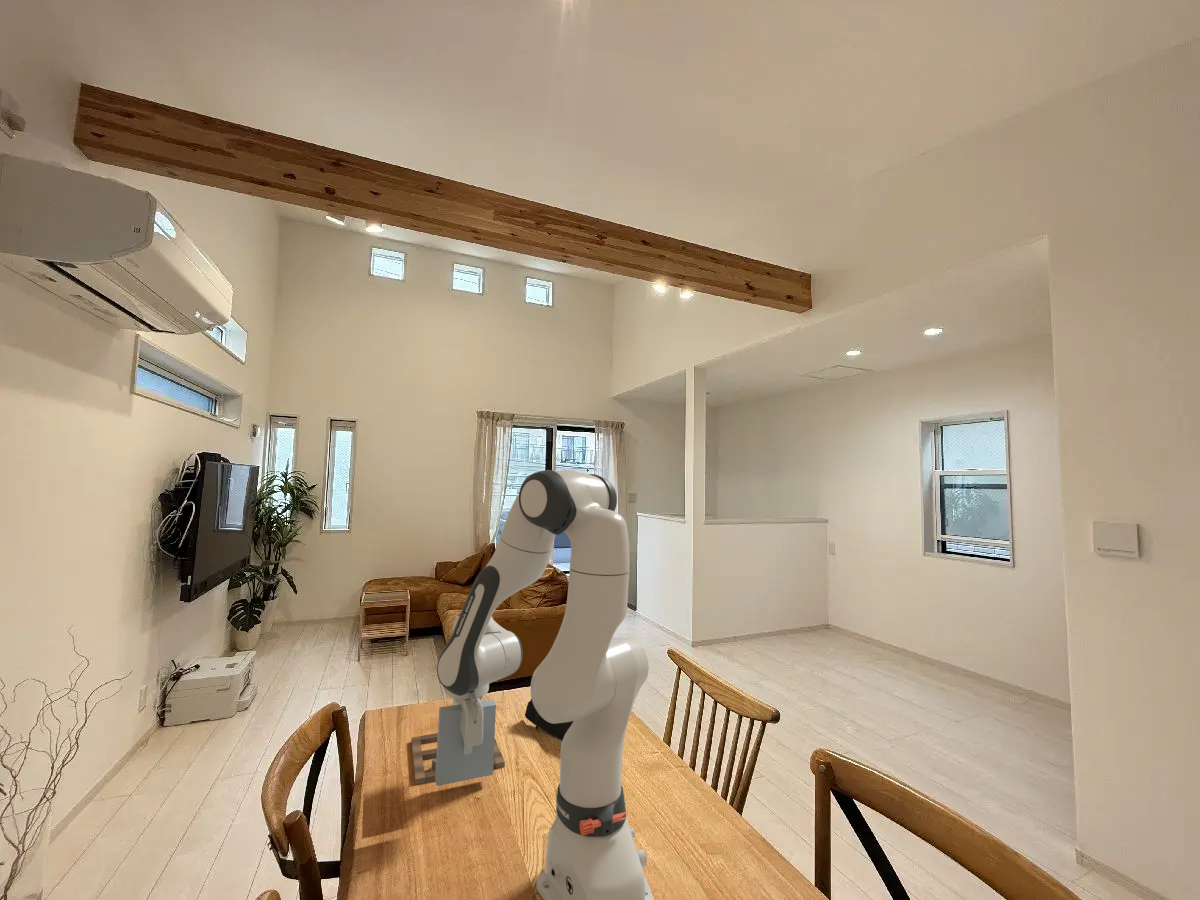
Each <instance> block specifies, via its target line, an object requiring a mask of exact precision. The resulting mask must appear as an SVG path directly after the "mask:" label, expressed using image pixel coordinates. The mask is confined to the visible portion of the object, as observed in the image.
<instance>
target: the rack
mask: <svg viewBox="0 0 1200 900" xmlns="http://www.w3.org/2000/svg"><path fill="white" fill-rule="evenodd" d="M437 738H438V732H435V733H432V734H431V733H430V734H424V735H418V736H412V737H411V741H410V743H411V753H412V755H411V756H412V764H413V765H412V766H413V776H414V784H415V786H416V785H422V784H427V783H431V782H436V780H435V774H436V771H431V770H430V771H425V768H424V760H429V759H431V760H432V759H435V758H436V756H437V747H436V748H433V749H427V750H422V745H423V744H430V743H437ZM505 763H506V761H505V758H504V757H503V754H502V751H501V750H500V748H499V744H498V742H497V740H496V738H495V737H494V759H493V770H496V769H501V768H505V767H506V764H505Z"/></svg>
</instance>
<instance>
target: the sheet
mask: <svg viewBox="0 0 1200 900" xmlns="http://www.w3.org/2000/svg"><path fill="white" fill-rule="evenodd" d="M481 704H482V706H483V741H482V744H481V745H478V746H472V753H471V754H467V755H465V754H464V752H463V743H464V741H463V737H462V734H461V730H460V715H461V711H462V709H461V705H460V704H459V705H446V706H440V707H438V721H437V723H438V724H437V733H438V738H437V742H436V748H437V756H436V774H435V780H436V781H435V785H436V787H440V786H443V785H449V784H454V783H458V782H463V781H464V782H465V781H469V780H473V779H479V778H483V777H489V776H493V774H494V769H493V759H494V737H495V733H496V716H497V715H496V714H497V712H496V711H497V705H496V702H495V700H494V699H489V700H481ZM476 723H477V722H476Z"/></svg>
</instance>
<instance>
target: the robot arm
mask: <svg viewBox="0 0 1200 900" xmlns="http://www.w3.org/2000/svg"><path fill="white" fill-rule="evenodd" d="M617 497H618V496H617V491H616V489H615V486H614V485H613V484H612V483H611V482H610V481H609V479H607V478H605V477H603V476H601V475H597V474H594V473H584V472H581V471H580V472H579V471H576V470H552V469H545V470H540V471H536V472H534V473H532V474H529V475H527V477H526V478H525V479H524V480H523V482H522V483H521V486H520V488H519V492H518V495H517V496H516V497H515V499H514V501H513V503H512V505H511V507H510V510H509V512H508V513H507V514H508V515H507V516H506V518H505V521H504V525H503V527H502V532H501V534H500V538H499V542H498V544H497V546H496V549H495V551H494V553H493V555H492V557H491V558H490V559H489V561H488V563H486V565H485V567H484V568H483V569H481V571H480V572H479V573H478V574H477V576H476V577H475V580H474V581H473V584H472V586H471V588H470V590H469V592H468V595H467V598H466V600H465V602H464V604H463V606H462V610H461V612H460V613H458V614H457V615H456V617H455V619H454V620H453V621H454V622H453V626H452V632H451V635H450V637H449V640H448V641H447V642H446V644H445V645H444V648H443V649H442V651H441V653H440V654H439V657H438V661H437V665H436V674H437V678H438V681H439V683H440V684H441V686H442V687H443V688H444V689H445V690H446V691H448V692H447V693H448V695H449V696H450V697H451V698H452V702H453V703H452V704H453V705H459V704H460V705H461V709H462V711H461V715H460V730H461V734H462V737H463V741H464V743H463V752H464V754H465V755H467V754H471V753H472V746H478V745H481V744H482V741H483V706H482V704H481V701H483V698H484V696H485V695H486V694H487V693H488V692H489V689H490V684H492V683H494V682H496V681H499V680H501V679H505V678H507V677H510V676H511V675H513V674H515V673H516V672H518V670H519V669H520V667H521V665H522V661H523V658H524V657H523V656H524V651H523V644H522V642H521V639H520V638H519V636H517V634H516V633H515V632H513V631H512V630H507V629H505V628H504V627H502V626H501V625H500V624H499V623H497V622H496V621H495V620H494V618H493V614H494V612H495V611H496V609H497V608H498V607H499V606H500V604H502V603H503V602H504V601H505V600H507V599H508V598H509V597H511V596H513V595H515V594H516V593H517V592H519V591H522V590H523V589H524V588H527V587H529V586H531V585H533V584H534V583H535V582H537V581H538V580H539V579H540V578H541V577H542V575H543V574H544V572H545V570H546V569H547V566H548V564H549V561H550V558H551V555H552V550H553V547H554V543H555V539H556V536H558V535H560V534H561V535H562V533H565V534H566V535H567V536H568V539H569V541H570V561H569V574H568V575H569V576H568V587H567V597H566V598H567V600H566V605H565V611H564V616H563V619H562V623H561V625H560V628H559V630H558V634H557V635H556V638H555V639H554V642H553V645H552V647H551V648H550V650H549V652H548V653H547V655H546V656H545V658H543V660H542V661H541V663H539V665H538V666H537V667H536V668H535V670H534V671H533V674H532V677H531V681H530V699H531V698H532V702H533V705H534V707H535V709H536V710H537V712H538V713H539V715H540V716H541V717H542V718H543V719H544V720H546V721H547V722H549V723H553V724H556V723H565V722H571V721H573V723H572V725H571V726H570V728H569V729H568V730H567V732H566V734H565V736H564V738H563V741H561V745H560V765H559V767H560V768H559V769H560V770H559V784H558V786H557V789H556V790H557V792H556V795H555V796H556V797H555V804H556V805H555V806H556V816H555V819H554V821H553V823H552V824H551V826H550V828H549V830H548V833H547V841H546V852H545V864H544V870H543V872H542V873H541V874H540V875H539V876H538V878H537V879H536V885H535V888H536V890H537V892H538V894H539V895H540V896H541V898H542V900H655V898H654V896H653V894H652V891H651V888H650V886H649V883H648V880H647V877H646V875H645V873H644V869H643V868H644V867H645V868H646V866H647V865H648V857H647V853H646V851H645V849H637V847H636V843H635V838H636V832H635V828H634V827H631V828H630V824H629V821H628V818H627V810H626V805H627V804H626V798H625V794H624V787H623V785H622V775H623V774H622V773H623V772H622V771H623V770H622V769H623V749H624V742H625V737H626V733H627V728H628V724H629V721H630V717H631V713H632V711H633V708H634V704H635V703H636V699H637V697H638V694H639V692H640V690H641V689H642V687H643V685H644V684H645V682H646V681H647V678H648V674H649V661H648V657H647V654H646V651H645V650H644V648H643V647H642V646H641V644H640V643H639V642H637V641H636V640H634V639H633V638H630V637H614V635H615V633H616V631H617V630H618V628H619V627H620V625H621V624H622V623H623V621H624V620H625V619H626V615H627V613H628V600H629V597H628V596H629V583H630V582H629V581H630V563H631V562H630V542H629V541H630V538H629V530H628V526H627V524H628V523H627V521H626V520H625V518H624V517H623V516H622V515H621V514H619V513H617V512H616V509H617V504H618V498H617ZM476 722H477V723H476Z"/></svg>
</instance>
